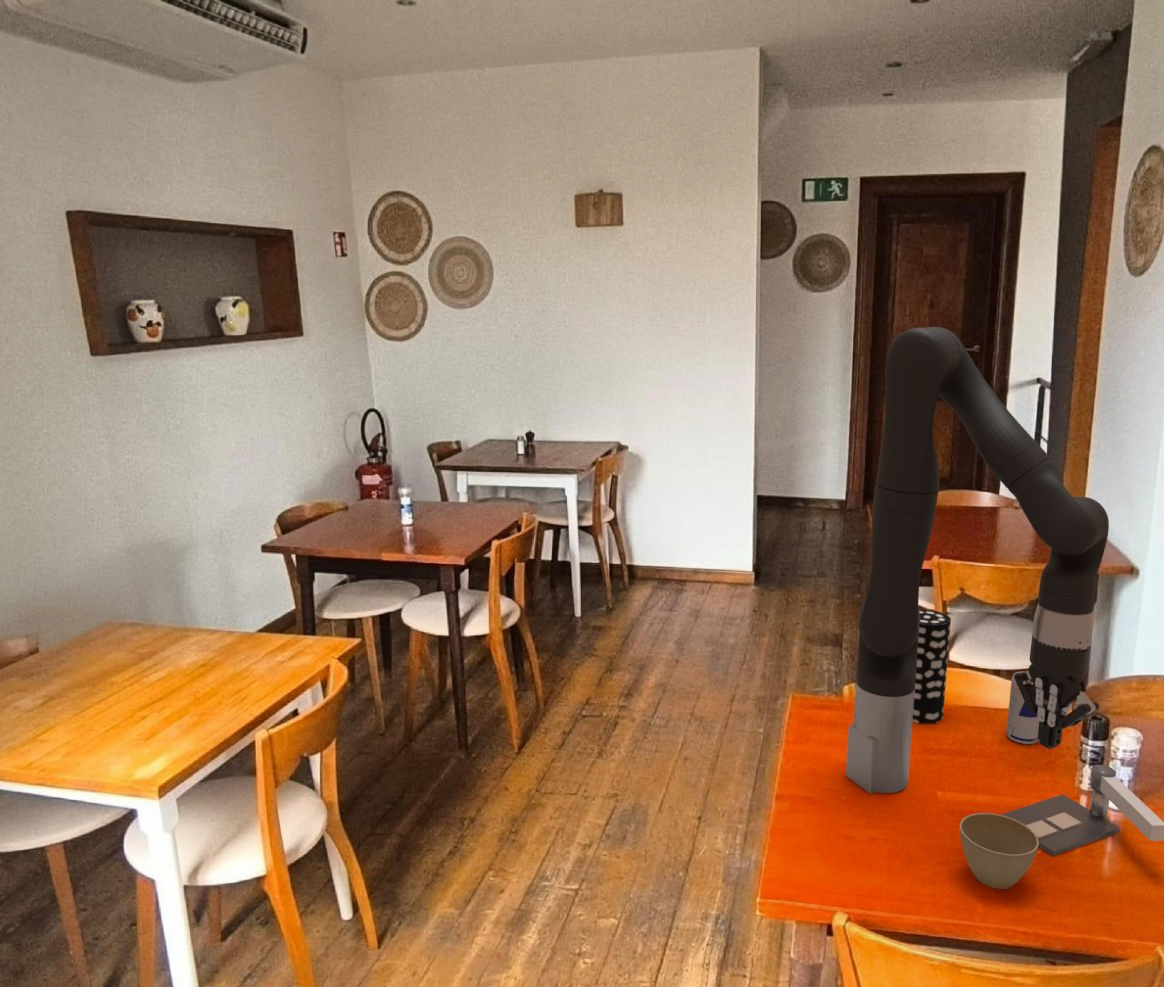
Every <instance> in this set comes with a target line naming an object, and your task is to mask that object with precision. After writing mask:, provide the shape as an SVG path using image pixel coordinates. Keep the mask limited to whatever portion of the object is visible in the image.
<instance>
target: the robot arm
mask: <svg viewBox="0 0 1164 987" xmlns="http://www.w3.org/2000/svg"><path fill="white" fill-rule="evenodd" d="M885 360H886V361H885V388H884V390H885V398H884V399H885V401H884V404H885V405H884V423H883V427H882V428H883V431H882V436H881V442H880V443H881V444H880V451H879V458H878V459H879V460H878V468H877V474H876V478H875V486H874V487H875V488H874V493H873V494H874V495H873V502H872V516H871V517H872V518H871V519H872V521H871V567H870V574H869V581H868V585H867V590H866V594H865V595H866V596H865V598H864V600H863V602H862V604H861V607H860V613H859V615H858V616H859V617H858V624H857V625H858V630H859V631H858V632H859V636H858V638H859V639H858V640H859V641H858V650H857V652H858V654H857V664H856V677H855V680H856V681H855V690H854V691H855V692H854V693H855V695H854V710H853V711H854V712H853V724H849V726H848V730H847V732H848V733H847V748H846V749H847V750H846V766H845V768H846V769H845V777H847V778H848V779H850V780H851V781H852V782H853V783H855V784H856V785H857V786H859V787H860V788H862V789H863V790H864V791H866V792H867V793H868V794H874V793H882V794H891V793H892V794H893V793H899V792H902V791H903V790H905V789H906V788H907V786H908V785H909V777H910V776H909V775H910V774H909V773H910V761H911V748H912V747H911V746H912V732H913V731H912V730H913V722H912V721H913V707H914V694H915V681H916V668H917V649H918V636H919V625H920V611H919V609H920V607H919V596H920V583H921V582H920V581H921V575H922V570H923V565H924V561H925V558H926V554H927V550H928V547H929V543H930V539H931V535H932V529H933V527H934V523H935V522H934V520H935V516H936V511H937V504H938V496H939V490H940V481H941V480H940V479H941V478H940V476H941V475H940V467H939V465H940V464H939V461H938V460H939V459H938V454H937V449H936V444H935V438H934V420H935V419H934V418H935V413H936V408H937V402H938V397H940V398H941V399H942V401H944V403H946V404H947V405H948V406H949V407H950V409H952V411H954V413H955V415H957V417H958V418H959V420H960V421H961V422H962V424H963V425H964V428H965V429H966V431H967V433H968V435H969V437H970V439H971V441H972V443H973V444H974V446H975V448H976V451H977V452H978V454H979V455H980V457H981V459H982V460H983V461H984V463H985V464H986V466H987V467H988V468H989V469H990V471H992V474H994V475H995V476H996V478H998V480H999V481H1000V482H1001V483H1002V485H1004V487H1005V488H1006V489H1007V490H1008V491H1009V492H1010V494H1012V495H1013V497H1015V499H1016V501H1017V502H1018V504H1019V506H1020V509H1021V510H1022V512H1023V514H1024V515H1025V516H1026V519H1027V520H1028V522H1029V524H1030V525H1031V527H1032V529H1033V531H1035V533H1036V534H1037V535H1038V537H1039V538H1040V540H1041V541H1043V542H1044V544H1045V545H1047V546H1048V547H1049V548H1050V555H1049V559H1048V562H1047V564H1046V565H1045V566H1044V568H1043V569H1042V572H1041V575H1040V581H1039V589H1038V598H1037V606H1036V609H1035V613H1034V617H1033V622H1032V624H1033V625H1032V631H1031V632H1032V633H1031V644H1030V650H1029V651H1030V652H1029V662H1030V665H1029V667H1028V668H1027V669H1028V670H1026V671H1020V672H1021V673H1017V674H1015V675H1014V674H1013V675H1014V678H1015V681H1016V683H1017V685H1018V688H1019V690H1020V692H1021V694H1022V697H1023V699H1024V701H1025V703H1026V706H1027V708H1028V710H1029V711H1030V712H1031V713H1035V714H1036V715H1037V716H1038V720H1039V728H1038V741H1039V742H1038V743H1039V745H1040V746H1042V747H1043V748H1046V749H1048V750H1051V749H1054V748H1057V747H1058V746H1060V745H1061V743H1062V736H1063V730H1064V729H1067V728H1069V727H1073V726H1074V727H1075V726H1076V725H1078V724H1080V723H1081V722H1083V721H1084V720H1086V719H1087V718H1088V717H1090V716H1091V715H1092V714H1094V713H1095V712H1098V710H1099V709H1100V705H1099V703H1098V702H1097V701H1092V700H1091V699H1090V697H1089V696H1088V694H1086V692H1087V685H1086V682H1085V676H1086V674H1087V672H1088V670H1089V664H1090V656H1091V649H1092V639H1093V633H1094V608H1095V600H1096V592H1097V579H1098V574H1099V570H1100V568H1101V567H1100V566H1101V564H1102V561H1103V557H1104V553H1105V550H1106V545H1107V541H1108V537H1109V530H1110V523H1109V522H1110V520H1109V516H1108V513H1107V511H1106V510H1105V508H1104V507H1103V505H1102V504H1101V503H1100V502H1098V500H1095V498H1091V497H1088V496H1075V497H1073V495H1071V494H1072V493H1070V492H1069V491H1068V489H1067V488H1066V486H1065V485H1064V483H1063V482H1062V481H1061V478H1062V472H1061V469H1060V468H1059V466H1058V465H1057V464H1056V462H1055V461H1054V460H1053V458H1051V457H1050V456H1049V454H1048V453H1047V452H1046V451H1045V450H1044V449H1043V448H1042V446H1041V445H1040V444H1039V443H1038V442H1037V441H1036V440H1035V439H1034V437H1032V435H1030V433H1029V432H1028V431H1026V429H1025V428H1024V427H1023V426H1022V425H1021V423H1020V422H1019V421H1018V420H1017V419H1016V418H1015V417H1014V415H1013V414H1012V413H1011V412H1010V411H1009V410H1008V408H1007V407H1006V406H1005V405H1004V403H1003V402H1002V401H1001V400H1000V398H999V397H998V395H997V394H996V393H995V392H994V391H993V388H991V386H990V385H989V383H988V382H987V381H986V379H985V378H984V376H983V375H982V373H981V372H980V370H979V368H977V366H976V364H975V361H973V359H972V357H971V356H970V354H969V352H968V351H967V349H966V348H965V345H963V343H962V342H961V340H960V339H959V338H958V336H957V335H956V334H955V333H953V332H952V331H951V330H948V329H947V328H944V327H939V326H927V327H914V328H909V329H907V330H905V331H903V332H901V333H900V334H899V335H898V336H897V337H896V338H894V340H893V341H892V342H891V344H890V346H889V349H888V352H887V355H886V359H885ZM1031 695H1032V696H1033V697H1034V700H1035V702H1036V703H1034V701H1033V699H1032V696H1031ZM1073 703H1074V705H1073ZM1072 706H1073V708H1074V709H1073V710H1072ZM1070 711H1071V712H1070Z"/></svg>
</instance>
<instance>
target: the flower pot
mask: <svg viewBox="0 0 1164 987" xmlns="http://www.w3.org/2000/svg"><path fill="white" fill-rule="evenodd" d="M959 834H960V843H961V846H962V851H963V853H964V856H965V858H966V861H967V864H968V866H969V868H970V870H971V871H972V874H973V876H974V877H975V878H976V880H978V882H980V883H981V884H983V885H984V886H987V887H989V888H992V889H997V890H1006V889H1010V888H1011V887H1013V886H1015V884H1016V883H1018V882H1019V881H1020V880H1021V879H1022V878H1023V877H1024V875H1025V874H1026V873H1027V871H1028V870H1029V869H1030V868H1031V865H1032V864H1033V862H1034V859H1035V857H1036V855H1037V851H1038V848H1039V847H1038V846H1039V841H1038V838H1037V836H1036V834H1035V833H1034V832H1033V831H1032V830H1031V829H1030V828H1029V827H1027V826H1026V825H1024V824H1023V823H1021V822H1019V821H1017V820H1015V819H1012V818H1009V817H1006V816H1003V815H1001V814H998V813H989V812H979V813H978V812H977V813H973V814H968V815H967V816H965V817H963V818H962V820H961V821H960V822H959Z"/></svg>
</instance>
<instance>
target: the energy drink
mask: <svg viewBox="0 0 1164 987" xmlns="http://www.w3.org/2000/svg"><path fill="white" fill-rule="evenodd" d="M1021 672H1022V671H1016V672H1015V673H1013V676H1012V677H1011V684H1010V693H1009V701H1008V702H1009V703H1008V714H1007V723H1006V724H1007V725H1006V734H1005V735H1006V736H1007V737H1008V739H1009V738H1010V740H1011V741H1012V740H1013V741H1012V742H1014V741H1015V742H1014V743H1017V742H1018V744H1020V743H1022V744H1021V745H1027V744H1029V745H1034V744H1036V743H1037V742H1038V741H1039V740H1038V728H1039V720H1038V716H1037V715H1036V714H1035V713H1031V712H1030V711H1029V710H1028V708H1027V706H1026V703H1025V701H1024V699H1023V697H1022V694H1021V692H1020V690H1019V688H1018V685H1017V683H1016V681H1015V678H1014V675H1015V674H1017V673H1021ZM1031 696H1032V695H1031ZM1032 699H1033V701H1034V703H1036V702H1035V700H1034V697H1033V696H1032Z"/></svg>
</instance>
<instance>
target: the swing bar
mask: <svg viewBox="0 0 1164 987" xmlns="http://www.w3.org/2000/svg"><path fill="white" fill-rule="evenodd" d="M1116 775H1117V771H1116V770H1115V769H1114V768H1113V767H1110V766H1109V765H1105V764H1095V765H1092V766H1091V774H1090V781H1089V787H1090V788H1091V789H1094V790H1095V791H1098V792H1101V793H1103V794H1104V795H1105V796H1106V797H1107V798H1108V799H1109V802H1111V803H1112V804H1113V805H1114V806H1115V807H1116V808H1117V810H1119V811H1120V812H1121V813H1122V814H1123V816H1125V817H1126V819H1128V820H1129V821H1130V822H1131V823H1132V824H1133V825H1134V826H1135V828H1137V829H1138V830H1139V831H1140V833H1142V834H1143V835H1144V836H1145V837H1146V838H1147V840H1149V841H1150V842H1152V841H1153V842H1154V841H1155V842H1158V841H1159V842H1161V841H1162V842H1164V821H1163V820H1162V819H1161V818H1160V817H1159V816H1158V815H1157V814H1155V812H1154V811H1152V810H1151V809H1150V808H1149V807H1148V806H1147V805H1146V803H1144V802H1143V801H1142V800H1141V799H1140V798H1138V797H1137V795H1135V793H1133V792H1132V791H1131V789H1130V788H1128V787H1127V786H1126V785H1125V784H1124V783H1123V782H1122V781H1121V780H1119V779H1118V777H1116Z"/></svg>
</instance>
